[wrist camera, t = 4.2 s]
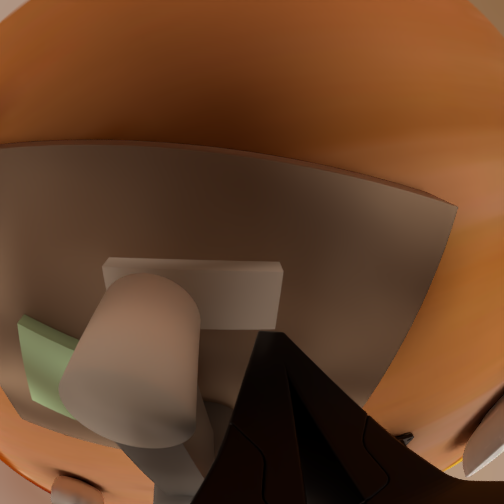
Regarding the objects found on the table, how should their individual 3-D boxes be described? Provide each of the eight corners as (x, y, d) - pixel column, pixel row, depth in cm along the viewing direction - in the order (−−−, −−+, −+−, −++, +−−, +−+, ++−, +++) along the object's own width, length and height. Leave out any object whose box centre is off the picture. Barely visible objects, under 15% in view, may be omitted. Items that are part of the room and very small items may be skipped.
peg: (244, 437, 12) (253, 517, 8) (172, 440, 12) (169, 517, 8) (214, 242, 8) (211, 372, 4) (93, 254, 7) (14, 364, 3)
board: (319, 430, 16) (328, 461, 14) (31, 397, 13) (19, 425, 11) (426, 192, 10) (468, 212, 8) (-35, 148, 7) (-73, 161, 5)
